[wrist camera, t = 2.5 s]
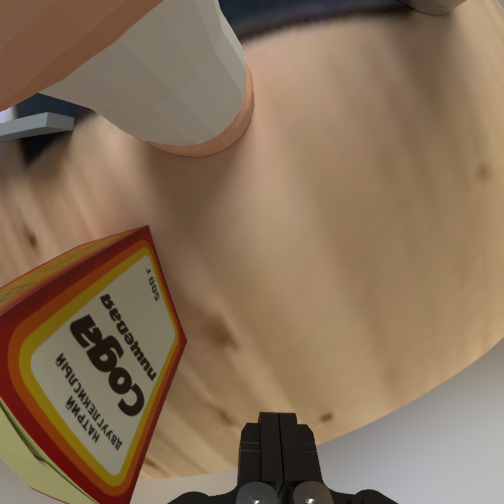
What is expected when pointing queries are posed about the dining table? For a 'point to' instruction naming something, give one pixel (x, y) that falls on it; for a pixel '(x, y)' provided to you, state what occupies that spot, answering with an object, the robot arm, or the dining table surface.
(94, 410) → the baking soda box
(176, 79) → the pepper shaker
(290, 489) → the robot arm
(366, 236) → the dining table surface
